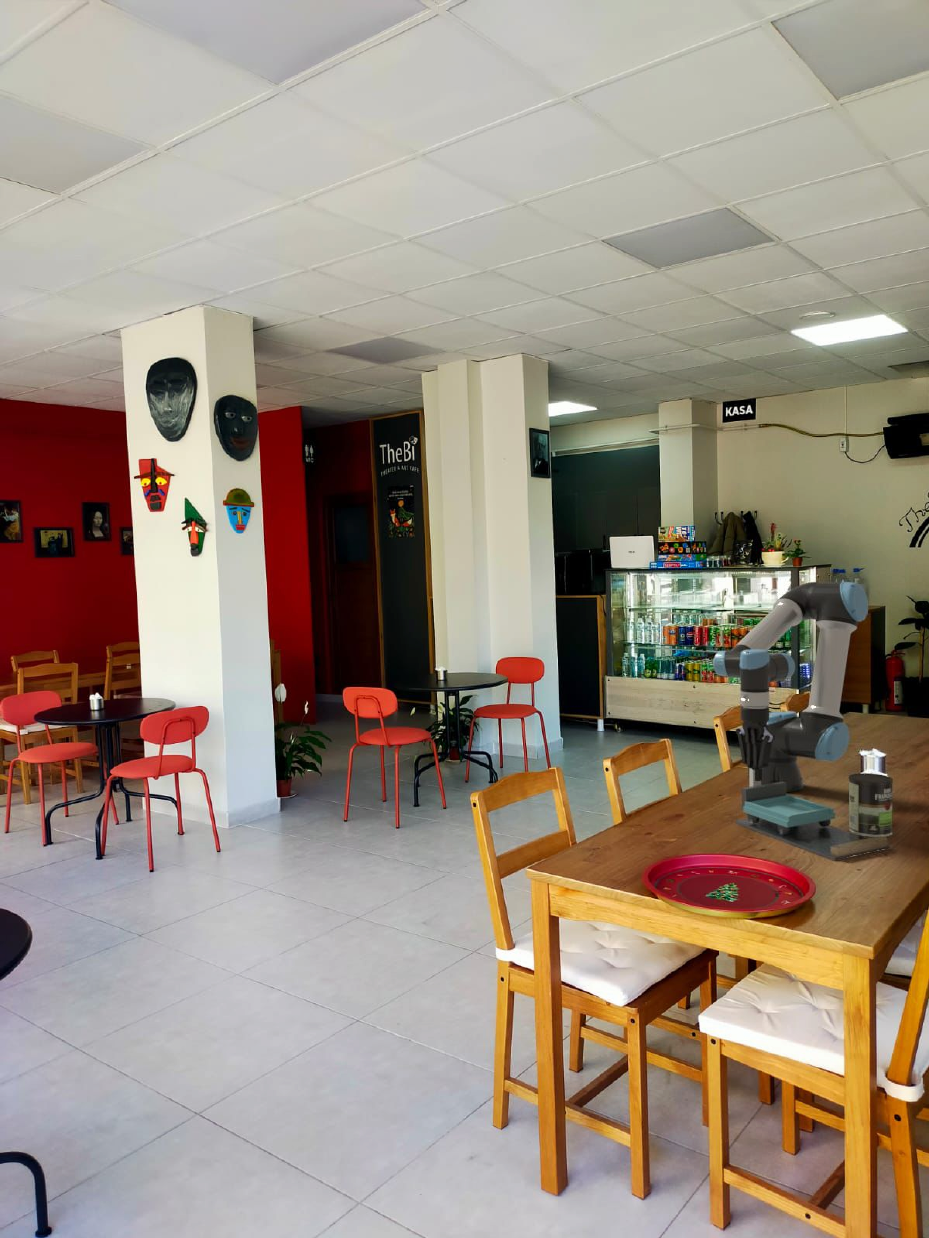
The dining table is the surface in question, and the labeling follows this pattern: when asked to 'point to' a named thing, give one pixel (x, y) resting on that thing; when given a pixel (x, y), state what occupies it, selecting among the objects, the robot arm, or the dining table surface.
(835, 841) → the track
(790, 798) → the cart
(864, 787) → the coffee can
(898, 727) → the dining table surface
